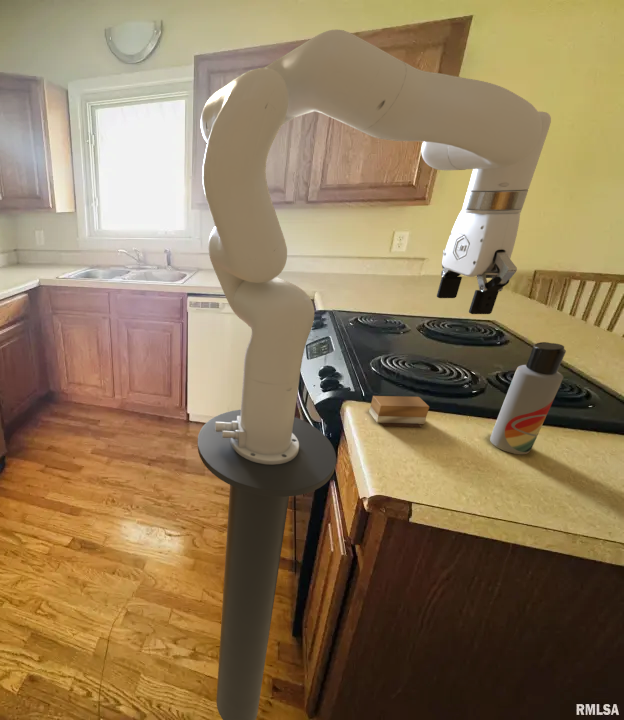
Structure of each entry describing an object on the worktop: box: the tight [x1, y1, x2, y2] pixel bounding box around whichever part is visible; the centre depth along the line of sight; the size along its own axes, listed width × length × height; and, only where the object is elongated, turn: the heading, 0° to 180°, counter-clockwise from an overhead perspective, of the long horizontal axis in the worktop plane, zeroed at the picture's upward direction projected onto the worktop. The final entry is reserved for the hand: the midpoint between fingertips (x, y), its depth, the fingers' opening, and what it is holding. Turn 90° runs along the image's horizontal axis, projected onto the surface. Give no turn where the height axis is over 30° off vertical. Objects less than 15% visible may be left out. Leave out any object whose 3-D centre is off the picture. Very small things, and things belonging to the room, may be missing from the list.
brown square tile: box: [381, 423, 422, 428], centre depth 81 cm, size 7×6×1 cm
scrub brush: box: [368, 395, 430, 425], centre depth 80 cm, size 9×4×4 cm, turn 83°
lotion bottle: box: [489, 341, 567, 455], centre depth 68 cm, size 6×6×20 cm
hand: (461, 305), depth 70 cm, fingers open, 9 cm apart
